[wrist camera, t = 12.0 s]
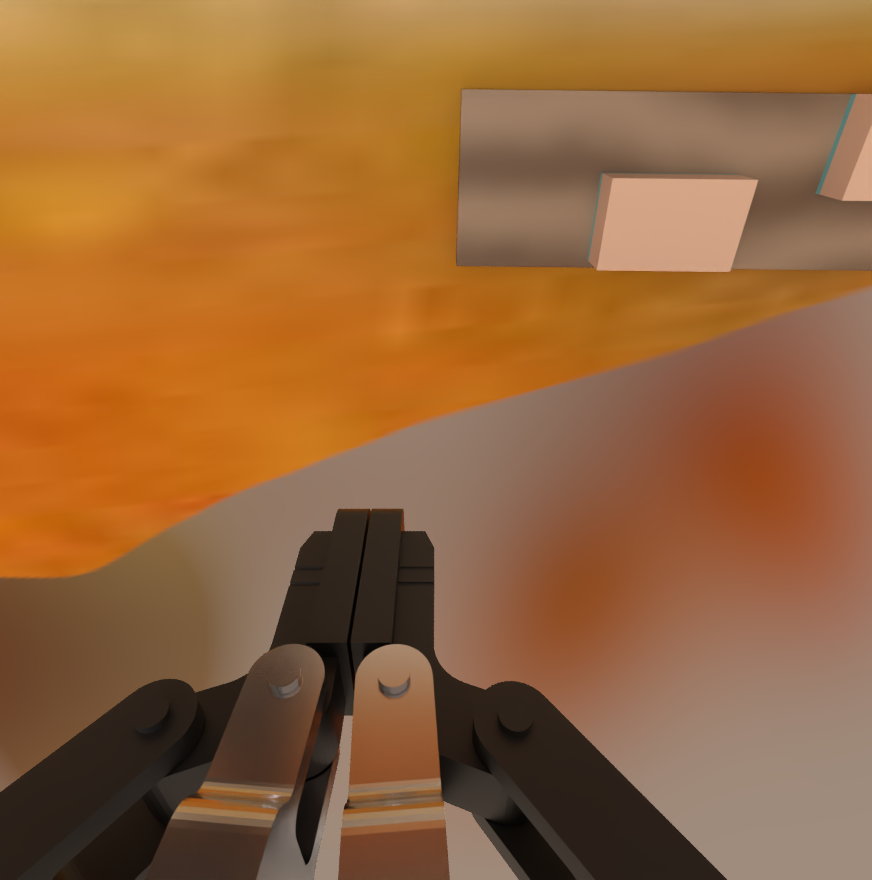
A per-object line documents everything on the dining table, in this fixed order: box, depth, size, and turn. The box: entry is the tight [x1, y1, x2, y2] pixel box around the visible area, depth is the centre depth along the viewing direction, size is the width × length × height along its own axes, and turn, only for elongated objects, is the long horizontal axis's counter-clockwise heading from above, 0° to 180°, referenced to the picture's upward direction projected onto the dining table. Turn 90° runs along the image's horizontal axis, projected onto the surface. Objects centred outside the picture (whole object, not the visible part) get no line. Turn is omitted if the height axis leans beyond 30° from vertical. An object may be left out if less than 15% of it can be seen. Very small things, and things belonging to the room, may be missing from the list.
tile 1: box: [587, 172, 758, 272], centre depth 32 cm, size 5×2×8 cm
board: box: [456, 89, 872, 271], centre depth 32 cm, size 10×28×1 cm, turn 89°
